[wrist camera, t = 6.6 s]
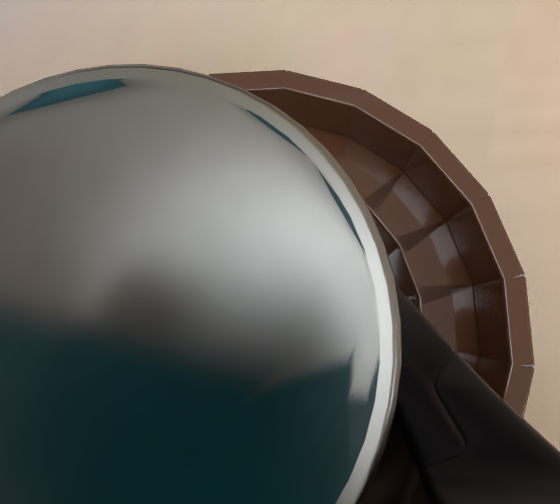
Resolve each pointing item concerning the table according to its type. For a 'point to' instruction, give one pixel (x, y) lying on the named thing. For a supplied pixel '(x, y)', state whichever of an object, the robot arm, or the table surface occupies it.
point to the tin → (185, 299)
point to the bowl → (422, 221)
